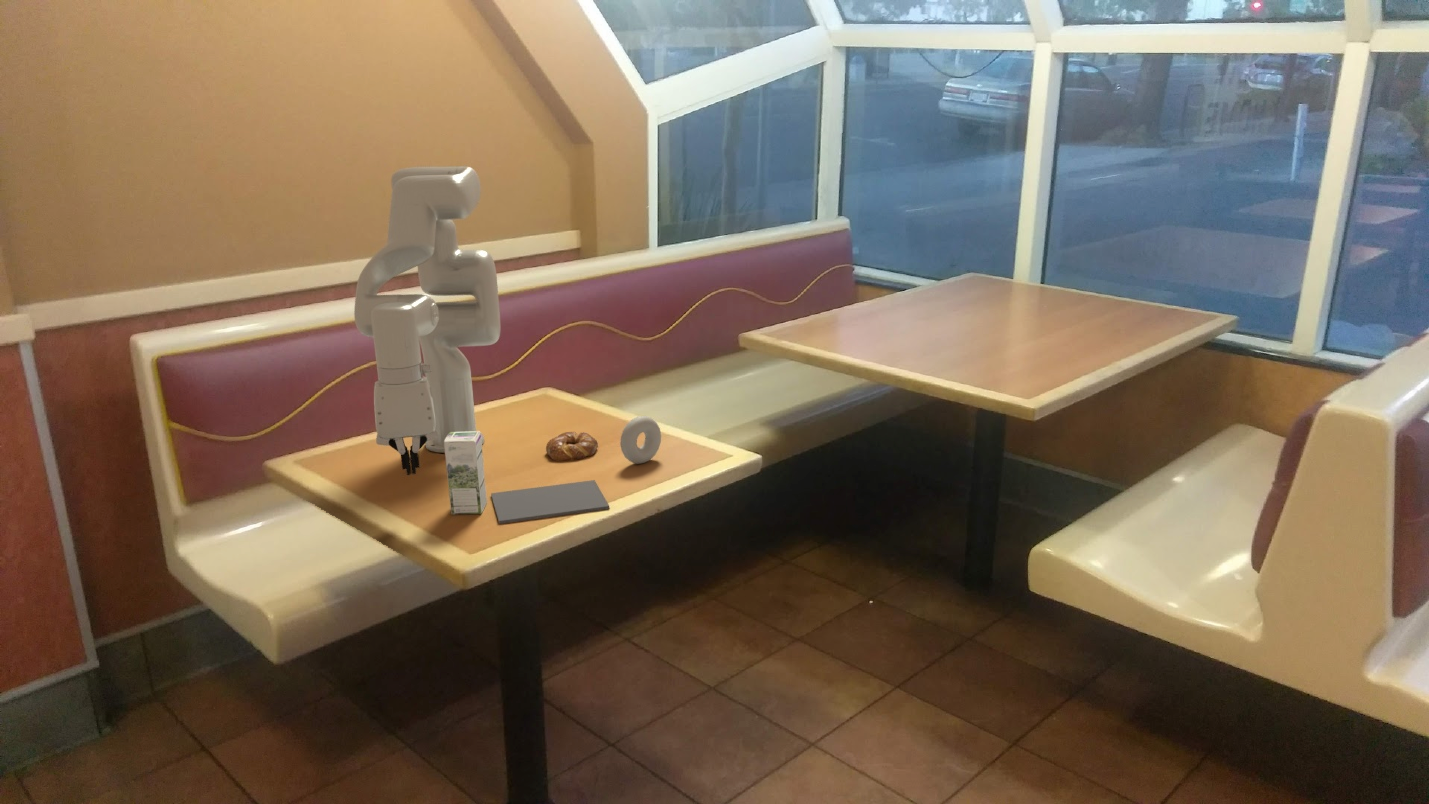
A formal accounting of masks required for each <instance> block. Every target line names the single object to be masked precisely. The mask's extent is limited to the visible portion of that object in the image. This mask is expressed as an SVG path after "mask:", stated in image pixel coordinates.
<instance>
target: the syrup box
mask: <svg viewBox="0 0 1429 804" xmlns="http://www.w3.org/2000/svg"><path fill="white" fill-rule="evenodd" d="M481 434H482V432H481V431H480V430H476V431H465V432H450V433H449V434H448V435H447V437H446V439H445V441H444V448H445V453H444V457H445V463H446V464H445V465H446V467H445V468H446V475H447V486H448V495H449V505H450V512H451V515H476V514H477V515H478V514H479V515H481V514H483V512H484V510H485V507H486V506H487V503H488V498H487V497H488V496H487V487H486V479H485V469H484V466H485V465H484V457H483V444H482V441H481Z"/></svg>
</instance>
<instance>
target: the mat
mask: <svg viewBox="0 0 1429 804" xmlns="http://www.w3.org/2000/svg"><path fill="white" fill-rule="evenodd" d="M490 495H491V496H490V497H491V500H492V503H493V507H494V510H495V513H496V518H497V521H498V523H499V525H502V524H503V525H504V524H509V523H517V522H524V521H525V522H526V521H530V520H531V521H532V520H537V519H538V520H539V519H540V520H541V519H546V518H554V517H560V516H569V515H577V514H582V513H589V512H596V511H597V512H598V511H605V510H610V504H609V503H608V501H607V500H606V497H605V496H604V494H603V493H602V491H601V488H600V487H599V485H598V484H597V481H596V480H595V479H593V480H592V479H591V480H584V481H577V482H569V483H561V484H554V485H546V486H544V485H543V486H538V487H531V488H522V489H514V490H507V491H498V492H491V494H490Z"/></svg>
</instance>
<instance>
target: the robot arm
mask: <svg viewBox="0 0 1429 804" xmlns="http://www.w3.org/2000/svg"><path fill="white" fill-rule="evenodd" d="M390 184H391V190H392V191H391V199H390V206H389V207H390V208H389V218H388V220H389V221H388V229H387V239H386V244H385V245H384V246H383V247H382V248H381V249H379V250H378V251H377V252H376V253H375V254H374V255H373V256H372V257H371V259H369V261H368V262H367V263H366V264H365V266H364V268H363V269H362V270H361V272H360V274H359V277H358V280H357V283H356V290H355V299H354V313H353V314H354V315H353V316H354V323H355V326H356V328H357V330H358V332H359V333H360V334H361V335H363V336H365V337H369V338H372V339H373V345H374V355H375V362H376V370H377V379H378V380H377V381H375V382H374V386H373V408H374V410H373V411H374V420H375V421H374V422H375V429H376V439H375V443H376V445H378V446H389V447H391V448H393V449H394V450H395V451H396V452H398V453H399V455H400V459H401V460H400V461H401V462H400V463H401V469H402V470H406V475H407V476H411V474H412V475H416V474H417V469H418V468H420V459H419V458H420V457H419V452H420V449H422V447H423V446H424V445H425V448H426V449H427V450H429V451H431V452H434V453H443V454H445V448H444V441H445V439H446V437H447V435H448V434H449V433H450V432H465V431H477V426H476V424H477V423H476V413H475V403H474V392H473V382H472V370H471V365H470V361H469V360H468V359H467V357H466V356H465V354H464V353H463V352H462V351H461V350H460V349H459V348H461V347H483V346H491V345H492V346H493V345H495V343H497V342H498V341H499V339H500V336H501V327H502V326H501V313H500V301H499V300H500V299H499V290H498V287H499V286H498V279H497V278H498V277H497V269H496V264H495V261H494V259H493V258H494V257H493V256H492V255H491V254H490V253H489V252H488V251H486V250H483V249H460V248H459V244H458V236H457V235H458V234H457V227H456V223H455V222H454V220H464V219H466V218H468V217H469V216H470V215H471V214H472V213H473V211H474V210H475V209H476V208H477V206H478V204H479V202H480V199H481V194H482V192H481V191H482V187H481V180H480V177H479V175H478V173H477V171H476V170H475V169H474V168H472V167H470V166H461V165H460V166H417V167H416V166H415V167H405V168H401V169H398V170H396V171H394V172H393V174H392V176H391V178H390ZM415 267H417V274H418V281H419V286H420V288H421V290H422V291H423V292H424V293H425V294H420V293H414V294H413V293H411V294H409V293H408V294H402V293H401V294H378V293H379V291H380V289H381V288H382V287H383V286H384V285H385V284H386V283H387V282H388V281H390V280H391V279H393V278H395V277H397V276H398V275H401V274H403V273H406V272H407V271H409V270H412V269H414V268H415ZM429 295H430V296H429ZM431 296H435V297H436V296H437V297H439V296H440V297H447V296H449V297H451V296H472V297H473V298H475V300H473V301H468V300H467V301H438V302H436V301H435V300H434V299H433V298H432V297H431ZM421 352H422V353H421ZM422 358H423V362H422ZM404 438H405V439H406V438H412V439H411V445H410V446H409V447H410V449H408V446H406V445H405V440H404ZM481 441H482V445H484V442H485V436H484V434H482V433H481Z"/></svg>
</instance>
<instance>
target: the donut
mask: <svg viewBox="0 0 1429 804" xmlns="http://www.w3.org/2000/svg"><path fill="white" fill-rule="evenodd" d="M642 433H644V442H643V444H642V445H641V446H640V447H639V446H638V438H639V436H640V435H641V434H642ZM661 442H662V432H661V428H660V427H659V425H658V423H657V421H656V420H654V418H652V417H649V416H646V415H642V416H639V415H638V416H636V417H635V418H632V419H631V420H630V421H629V422H627V423H626V425H625V426H624V428H623V430H622V433H621V436H620V442H619V443H620V444H619V445H620V448H621V449H620V450H621V453H622V455H623V457H624V458H625V459H626V460H628V461H629V462H630V463H633V464H637V465H638V464H639V465H640V464H645V463H647V462H649V461H651V460H652V459H653V458H654V457H655V456H656V454H657V453H658V451H659V449H660V446H661Z"/></svg>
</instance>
